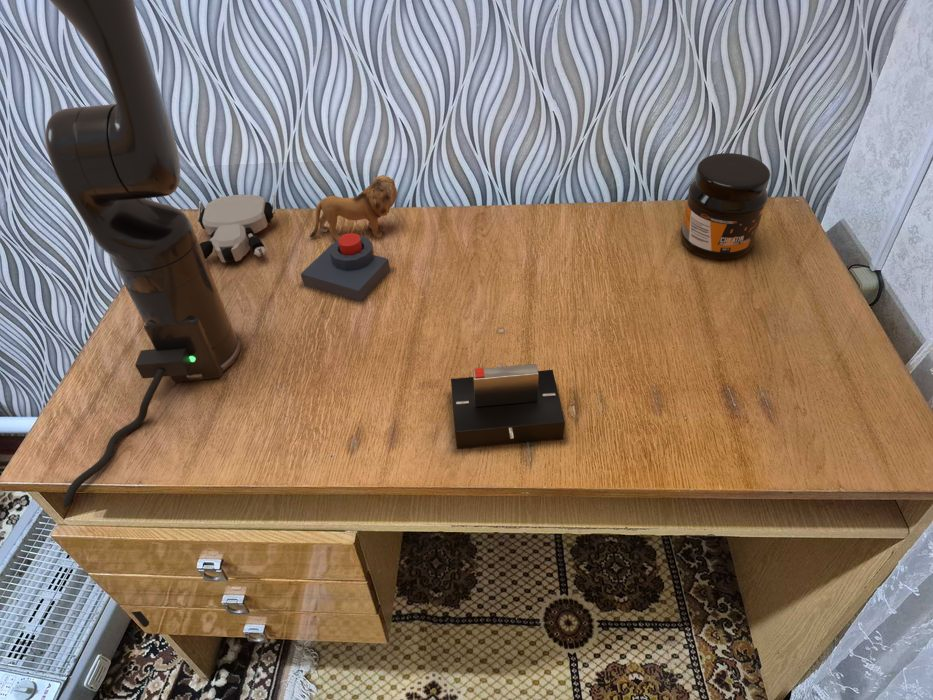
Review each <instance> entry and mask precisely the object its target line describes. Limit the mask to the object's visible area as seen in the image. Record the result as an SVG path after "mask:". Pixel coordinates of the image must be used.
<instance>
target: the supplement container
mask: <svg viewBox="0 0 933 700" xmlns="http://www.w3.org/2000/svg"><path fill="white" fill-rule="evenodd" d="M770 179H771V171H770V169H769V167H768V166H767V165H766V164H765V163H764V162H763V161H761V160H759V159H757V158H755V157H752V156H749V155H746V154H743V153H734V152H723V153H722V152H721V153H715V154H711V155H708V156H706V157H704V158H703V159H701V160H700V161H699V162H698V164H697V167H696V171H695V176H694V179H693V180H692V181H691V182H690V185H689V187H688V192H687V193H688V196H687V201H686V205H685V209H684V216H683V221H682V224H681V227H680V238H681V239H680V240H681V241H682V243H683V244H684V246H685V247H686V248H687V249H688V250H690V251H691V252H693V253H694V254H696V255H698V256H701V257H704V258H707V259H711V260H731V259H732V260H733V259H736V258H739V257H741V256H744V255H745V254H747V253H748V252H750V250H751V249H752V247H753V246H754V244H755V240H756V236H757V232H758V229H759V226H760V222H761V220H762V216H763V212H764V210H765V206H766V205H767V202H768V200H769V195H768V194H769V193H768V190H767V188H768V185H769V183H770Z"/></svg>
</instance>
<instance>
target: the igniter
mask: <svg viewBox="0 0 933 700" xmlns="http://www.w3.org/2000/svg"><path fill="white" fill-rule="evenodd" d="M359 236H360V238H361V244H362V250H361V252H360V253H357V254H355V255H348V256H346V255H343V254H342V253H341V252H340V247H339V243H338V240H339V239H338V240H337V241H336V240H335V241H334V242H333V243H331V244H330V245H328V247H327V248H326V249H325V250H324V251H323V252H322V253H320V255H318V256H317V257H316V258H315V260H313V261H312V262H311V263H310V264H309V265H308V266H307V267H306V268H305V269H304V270H303V271H302V272H301V273H300V277H301V280H302V285H303V286H305V287H308V288H312V289H315V290H319V291H322V292H326V293H328V294H332V295H334V296H335V295H336V296H339V297H342V298H346V299H349V300H352V301H356V302H358V303H362V302H363V301H364V300H365V299H366V298H367V297H368V296H369V294H370V293H372V291H373V290H374V289H375V288H376V287H377V286H378V284H380V282H381V281H382V280H383V279H384V278H385V277H386V276H387V275H388V274H389V273H390V271H391V267H390V260H389V258H387V257H384V256H379V255H375V251H374V245H373V242H372V241H371V240H370V239H369V238H368V237H366V236H362V235H359Z"/></svg>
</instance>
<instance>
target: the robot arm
mask: <svg viewBox="0 0 933 700" xmlns="http://www.w3.org/2000/svg"><path fill="white" fill-rule="evenodd" d="M49 1H50V2H51V3H52V5H53V6H54V7H55V8H56V9H57V10H58V11H59V12H60V13H61V14H62V15H63V16H64V17H65V18H66V20H68V22H69V23H70V24H71V25H72V26H73V27H74V28H75V29H76V30H77V32H78V33H79V34H80V35H81V37H82V38H83V39H84V40H85V43H87V45H88V46H89V47H90V49H91V50H92V52H93V53H94V55H95V57H96V59H97V60H98V62H99V65H100V66H101V68H102V71H103V72H104V74H105V77H106V79H107V82H108V83H109V86H110V87H109V88H110V90H111V92H112V95H113V99H114V101H115V103H114V104H113V103H112V104H101V105H88V106H76V107H69V108H68V107H67V108H62V109H59V110H58V111H56V112H54V113H53V114H51V116H50V118H48V120H47V124H46V128H45V145H46V150H47V154H48V158H49V161H50V163H51V166H52V169H53V171H54V174H55V176H56V177H57V179H58V181H59V183H60V185H61V187H62V188H63V190H64V192H65V194H66V195H67V197H68V198H69V200H70V202H71V204H72V205H73V207H74V208H75V209H76V211H77V213H78V215H79V216H80V218H81V219H82V221H83V223H84V224H85V226H86V228H87V229H88V231H89V233H90V235H91V236H92V238H93V240H94V241H95V243H96V244H97V246H98V247H100V248H101V250H103V251H104V252H105V253H106V254H107V255H108V256H109V258H110V260H111V262H112V264H113V265H114V267H115V270H116V271H117V273H118V275H119V277H120V279H121V280H122V282H123V284H124V287H125V288H126V291H127V292H128V294H129V296H130V298H131V300H132V302H133V304H134V306H135V308H136V309H137V311H138V313H139V315H140V317H141V319H142V321H143V323H144V326H143V328H144V331H145V332H146V335H147V336H148V339H149V340H150V342H151V344H152V346H153V348H151V349H142V350H140V352H139V354H138V357H137V359H136V362H135V363H134V366H135V368H136V370H137V372H138V373H139V375H140V377H141V378H142V379H152V380H151V382H150V383H149V385H148V388H147V390H146V392H145V394H144V397H143V399H142V401H141V402H140V406H139V409H138V410H139V411H138V415H137V416H136V418H135V419H134V420H133V421H132V422H130V423H129V424H127V425H125V426H124V427H122V428H119V430H117V431H116V432H115V433H114V434H113V435H112V436H110V439H109V440H108V442H107V445H106V448H105V451H104V453H103V454H102V456H101V458H99V459H98V461H97V462H95V464H93V465H91V467H89V468H88V469H86V470H85V471H84V472H82V473H81V474H80V475H78V476H77V477H76V478H75V479H74V480H73V481H72V483H71V484H70V485H69V487H68V488H67V490H66V492H65V494H64V498H63V503H62V505H63V508H64V509H66V508H69V507H70V506H71V505H72V504H73V502H74V500H75V499H74V498H75V496H76V493H77V492H78V490H79V489H80V487H81V486H82V485H83V484H84V483H86V481H88V480H89V479H90V478H92V477H93V476H94V475H96V474H97V473H99V472H100V471H101V470H102V469H103V468H105V466H106V465H108V463H109V462H110V461H111V459H112V458H113V456H114V453H115V449H116V447H117V444H118V442H119V441H120V440H121V439H122V438H123V437H124V436H126V435H127V434H129V433H131V432H133V431H135V430H137V428H139V427H140V426H141V425H142V423H143V422H144V421H145V419H146V417H147V415H148V411H149V406H150V404H151V402H152V399H153V398H154V395H155V393H156V391H157V389H158V387H159V385H160V383H161V381H162V379H163V378H164V377H165V378H166V377H169V378H170V380H171V382H172V383H178V382H190V381H201V380H211V379H220V378H222V375H223V372H224V371H225V370H227V369H229V368H230V367H231V365H233V364H234V363H235V361H236V360H237V358H238V357H239V355H240V352H241V342H240V340H239V337H238V335H237V334H236V332H235V330H234V326H233V324H232V321H231V319H230V317H229V315H228V312H227V309H226V307H225V305H224V302H223V300H222V297H221V295H220V292H219V290H218V287H217V285H216V282H215V280H214V278H213V275H212V273H211V270H210V267H209V265H208V262H207V259H205V257H204V255H203V252H202V250H201V247H200V245H199V244H200V242H199V240H198V237H197V235H196V232H195V230H194V227H193V225H192V223H191V221H190V219H189V217H188V216H187V215H186V213H185V212H183V211H182V210H181V209H179V208H178V207H175V206H172V205H169V204H165V203H162V202H158V201H154V200H151V198H152V199H153V198H154V199H155V198H162V197H166V196H170V195H172V194H174V193H175V192H176V190H177V189H178V187H179V184H180V180H181V162H180V161H181V160H180V155H179V149H178V145H177V142H176V137H175V134H174V130H173V128H172V127H173V126H172V124H171V120H170V117H169V114H168V110H167V108H166V105H165V102H164V99H163V95H162V92H161V89H160V86H159V83H158V80H157V76H156V74H155V70H154V67H153V64H152V61H151V58H150V54H149V51H148V49H147V45H146V42H145V38H144V35H143V32H142V28H141V25H140V19H139V17H138V13H137V9H136V5H135V1H134V0H49ZM130 613H131V614H132V615H133V616H134V618H135V619H136V620H137V621H138V622H139V624H140V625H141V627H143V628H147V627H148V626H149V625H150V621H149V619H148V618H147V617H146V616H145V615H144V613H143V612H142V611H140V610H139V611H131V612H130Z"/></svg>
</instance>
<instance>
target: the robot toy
mask: <svg viewBox="0 0 933 700" xmlns="http://www.w3.org/2000/svg"><path fill="white" fill-rule="evenodd" d="M272 199H273V200H272V204H271V202H270V201H269V202H268V201H267V199H266V198H265V197H263V196H260V195H256V194H233V195H227V196H223V197H218V198H215V199H213V200H211V201H210V202H208V203H206V204H205V207H204V208H202V204H203V203H202V201H201V200H199V201H198V215H197V218H196V221H197V223H199V224H200V227H201V229H202V230H205V232H206V233H207V234H208V235H209V236H210V237H209V239H208V240H206V241H205V240H204V241H201V242H199V245H200V247H201V250H202V252H203V255H204V257H205V260H207V259H208V258H209V257H210V256H211V255H212V254H213V252H214V251H215V254H216V256H217V257H218V258H219V260H220V262H221V263H224V264H226V263H231V262H233V261H235V263H236V262H239V261H241V260H242V259H243V257H245V256H247V254H248V253H249V251H250V250H251V251H252V252H253V254H254V255H255V256H256V257H262V255H263V256H265V255H266V254H267V248H266V247H265V245H264V243H263V242H262V240H261V239H260V238H259V236H258V235H257V236H256V235H255V234H257V233H260V232H261V231H263V230H264V229H266V228H268V225H269V224H270V223H271V222H272V220H273V218H274V216H275V215H276V211H277V210H276V194H275V192H273V194H272ZM272 205H273V206H272Z"/></svg>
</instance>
